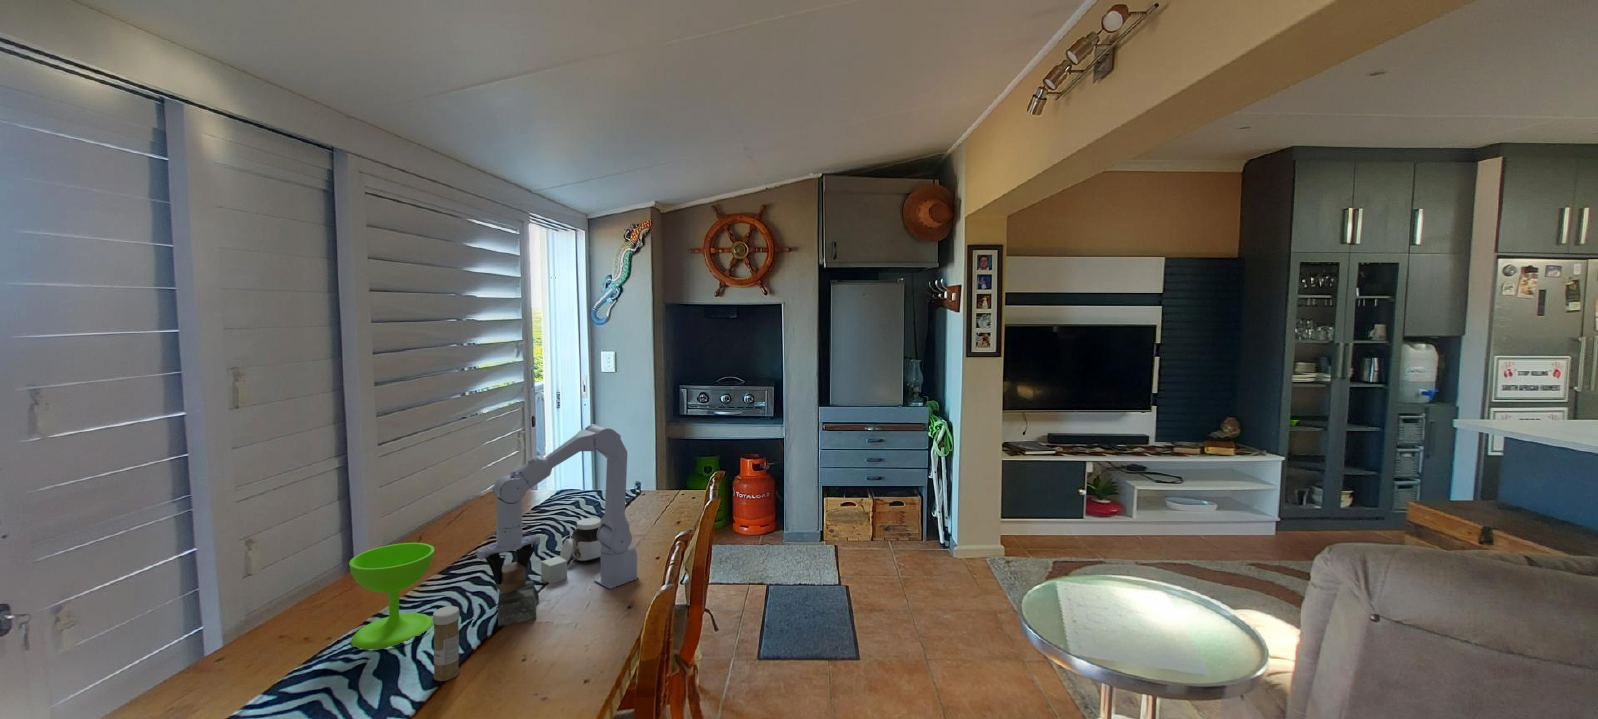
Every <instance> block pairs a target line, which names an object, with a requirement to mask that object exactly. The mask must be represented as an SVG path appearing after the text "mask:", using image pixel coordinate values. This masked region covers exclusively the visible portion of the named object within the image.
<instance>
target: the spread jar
mask: <svg viewBox="0 0 1598 719" xmlns="http://www.w3.org/2000/svg"><path fill="white" fill-rule="evenodd" d="M600 524H601V519H599V518H596V517H587V518H582V519H580V520H577V522H576V528H575V529H574V531H573V532H572V533H571V534H572V535H571V538H566V539H565V540H564V542H563V543H562V546H561V550H560V554H559V557H560V558H562V559H564V560H567V563H569V560H570V559H571V556H572V558H573V559H574V560H575V561H576V562H577V563H579V564H583V565H584V564H593V563H597V562H599V561H601V543H600V542H599V541H598V539H597V531H598V529H599V527H600Z"/></svg>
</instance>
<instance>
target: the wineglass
mask: <svg viewBox="0 0 1598 719" xmlns="http://www.w3.org/2000/svg"><path fill="white" fill-rule="evenodd" d="M434 554H435V546H433V545H431V544H428V543H423V542H405V543H404V542H401V543H395V544H389V545H384V546H378V547H376V548H375V547H374V548H372V549H369V550H365V551H364V552H360V553H359V554H357V555H355V556H353V558H351V559H350V560H349V563H348V564H349V570H350V573H351V576H352V578H353V579H354V580H355V582H356V583H357V584H358V585H359V586H361V587H362V588H363V589H365V590H368V591H371V592H375V593H378V594H388V616H386V617H383V618H379V619H377V620H375V621H372V622H370V623H368V624H366V625H365V626H363V627H361V628H360V629H359V630H358V631H356V633H354V635H353V636H352V638H351V641H350V645H351V644H352V645H351V647H352V646H355V647H357V648H362V649H367V650H368V649H381V648H387V647H389V646H395V645H398V644H400V643H402V642H404V641H408V640H410V639H411V638H413V637H415V636H420V635H421V634H422V633H424V632H425V631H428V629H430V628H431V626H433V625H434V623H433V617H431V616H430V615H427V614H425V613H418V612H417V613H416V612H414V613H413V612H411V613H410V612H408V613H400V591H403V590H405V589H408V588H409V587H411V586H413V585H414V584H416V583H417V582H418V581H420V580H421V579H422V578H423V576H425V574H426V573H427V571H428V570H429V569H430V567H431V565H432V562H433V560H434Z"/></svg>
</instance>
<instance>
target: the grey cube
mask: <svg viewBox="0 0 1598 719" xmlns="http://www.w3.org/2000/svg"><path fill="white" fill-rule="evenodd" d="M567 578H568V562H567V560H564V559H562V558H560V556H554V557H552V558H551V557H550V558H547V559H545V560H541V561H540V579H541V580H543V581H544V582H547V583H548V584H554V583H557V582H559V581H562V580H566V579H567Z"/></svg>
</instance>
